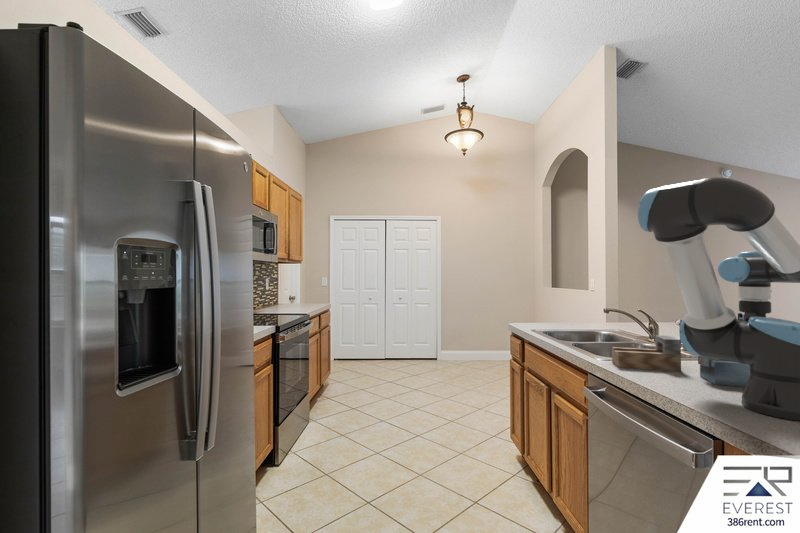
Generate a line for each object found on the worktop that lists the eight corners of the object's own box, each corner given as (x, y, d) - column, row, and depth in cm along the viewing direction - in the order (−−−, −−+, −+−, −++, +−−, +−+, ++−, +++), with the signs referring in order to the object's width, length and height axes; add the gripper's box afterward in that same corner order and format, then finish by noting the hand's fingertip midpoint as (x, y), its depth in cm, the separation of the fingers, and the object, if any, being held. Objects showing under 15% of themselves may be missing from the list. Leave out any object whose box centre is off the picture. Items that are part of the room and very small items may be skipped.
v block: (753, 387, 116) (753, 363, 116) (714, 384, 118) (714, 361, 118) (735, 378, 125) (735, 357, 125) (700, 376, 128) (699, 355, 128)
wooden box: (670, 365, 143) (670, 335, 144) (681, 371, 135) (680, 340, 135) (612, 361, 149) (611, 333, 149) (618, 367, 140) (618, 337, 141)
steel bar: (764, 369, 117) (764, 358, 117) (703, 366, 122) (703, 355, 122) (756, 366, 121) (756, 355, 121) (698, 363, 125) (697, 352, 125)
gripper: (798, 303, 107) (799, 378, 106) (745, 297, 131) (746, 359, 130) (765, 302, 109) (766, 376, 108) (719, 297, 133) (720, 357, 132)
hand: (755, 367), depth 119 cm, fingers open, 13 cm apart
